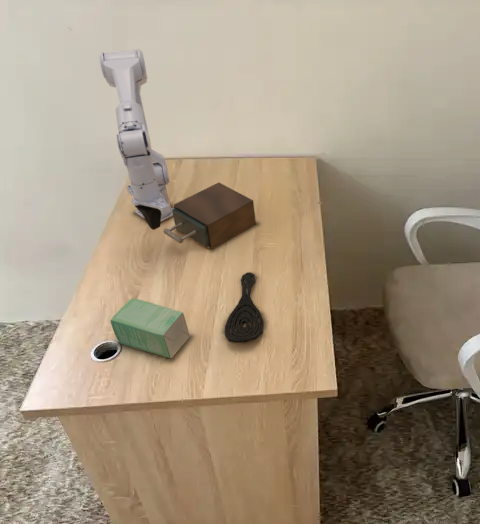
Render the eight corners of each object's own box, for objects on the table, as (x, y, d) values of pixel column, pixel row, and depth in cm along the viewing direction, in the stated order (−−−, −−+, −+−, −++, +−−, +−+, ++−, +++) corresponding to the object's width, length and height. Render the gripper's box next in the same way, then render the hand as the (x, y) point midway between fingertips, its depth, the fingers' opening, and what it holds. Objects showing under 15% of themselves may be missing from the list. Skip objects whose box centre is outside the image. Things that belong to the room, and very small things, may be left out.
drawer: (189, 258, 144) (184, 238, 140) (158, 238, 151) (153, 218, 147) (248, 224, 156) (246, 205, 152) (218, 206, 163) (214, 188, 159)
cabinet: (212, 249, 148) (207, 225, 144) (178, 228, 156) (173, 204, 151) (256, 224, 157) (253, 200, 153) (222, 205, 165) (218, 182, 160)
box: (138, 320, 128) (130, 295, 123) (190, 336, 124) (184, 311, 120) (117, 343, 123) (107, 318, 118) (171, 360, 119) (164, 335, 114)
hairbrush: (265, 264, 139) (260, 336, 119) (266, 277, 141) (262, 348, 121) (230, 266, 139) (220, 338, 118) (232, 278, 141) (222, 351, 120)
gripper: (110, 175, 134) (124, 223, 143) (146, 197, 127) (159, 246, 135) (136, 163, 138) (148, 211, 147) (173, 184, 131) (183, 232, 140)
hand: (155, 227), depth 141 cm, fingers closed
